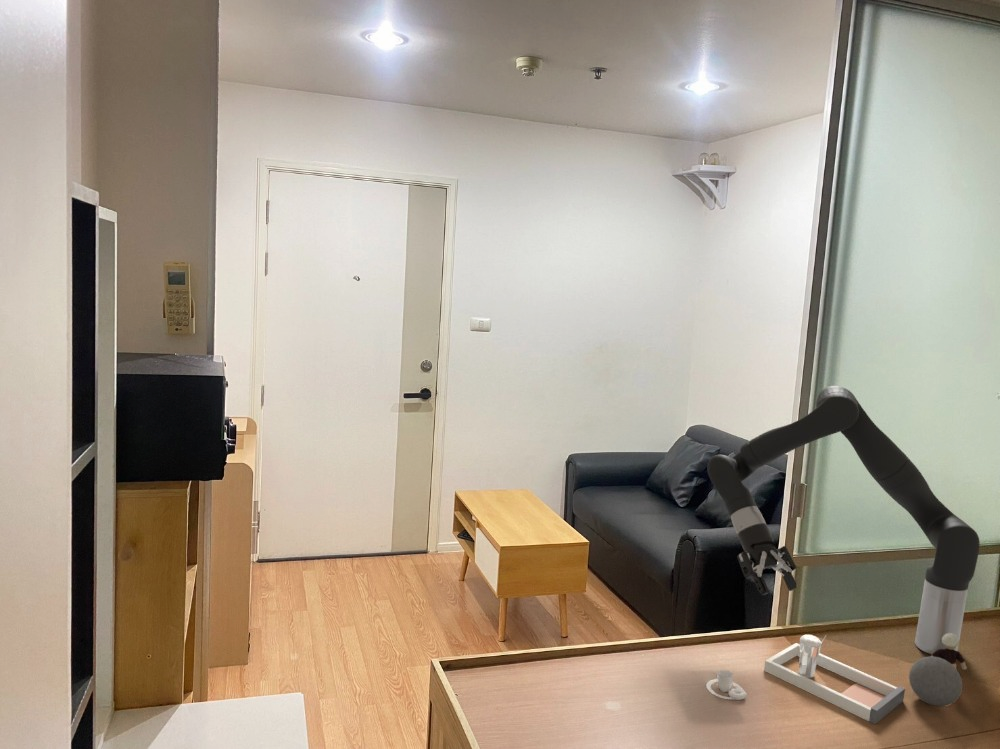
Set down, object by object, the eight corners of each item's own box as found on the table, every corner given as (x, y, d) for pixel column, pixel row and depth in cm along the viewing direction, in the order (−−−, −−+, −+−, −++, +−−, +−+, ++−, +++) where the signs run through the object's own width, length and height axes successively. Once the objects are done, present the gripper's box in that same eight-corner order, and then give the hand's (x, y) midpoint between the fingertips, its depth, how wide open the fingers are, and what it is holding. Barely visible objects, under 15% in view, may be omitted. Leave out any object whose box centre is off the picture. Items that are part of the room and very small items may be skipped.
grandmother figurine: (955, 683, 179) (963, 631, 176) (964, 692, 175) (973, 639, 173) (921, 680, 179) (929, 628, 177) (929, 690, 175) (938, 637, 173)
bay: (794, 652, 188) (796, 640, 188) (903, 701, 170) (905, 688, 169) (763, 670, 179) (765, 658, 178) (874, 724, 160) (876, 710, 160)
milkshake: (822, 681, 176) (828, 640, 174) (797, 677, 177) (803, 636, 175) (818, 671, 180) (824, 630, 178) (794, 667, 181) (799, 627, 179)
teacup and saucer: (751, 704, 166) (753, 686, 165) (714, 703, 165) (716, 685, 165) (736, 681, 174) (738, 664, 174) (701, 680, 174) (702, 663, 173)
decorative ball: (896, 689, 174) (902, 647, 173) (938, 689, 175) (945, 647, 174) (924, 716, 165) (931, 671, 163) (969, 716, 166) (976, 672, 164)
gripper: (737, 524, 189) (765, 589, 180) (782, 519, 195) (812, 582, 186) (720, 537, 194) (747, 601, 186) (764, 532, 200) (792, 593, 192)
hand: (779, 591), depth 186 cm, fingers open, 8 cm apart
